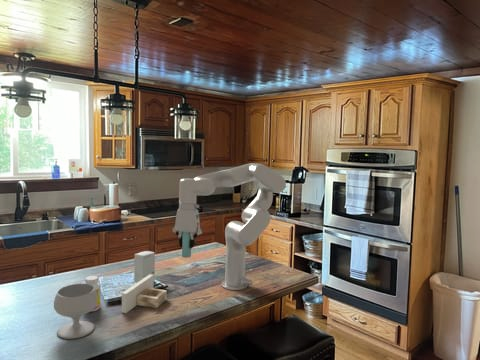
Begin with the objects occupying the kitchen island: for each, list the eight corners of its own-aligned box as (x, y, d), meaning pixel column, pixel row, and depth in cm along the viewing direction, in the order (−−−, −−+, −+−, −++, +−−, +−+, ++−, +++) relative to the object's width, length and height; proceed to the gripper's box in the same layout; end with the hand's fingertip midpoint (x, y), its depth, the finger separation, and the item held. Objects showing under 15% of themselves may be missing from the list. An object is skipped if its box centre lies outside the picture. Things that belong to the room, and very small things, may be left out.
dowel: (192, 255, 159) (193, 229, 157) (188, 258, 155) (189, 231, 154) (184, 254, 160) (184, 228, 158) (180, 257, 156) (181, 230, 154)
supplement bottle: (79, 312, 139) (79, 280, 137) (85, 304, 145) (85, 274, 144) (97, 312, 139) (97, 281, 138) (102, 305, 146) (102, 274, 144)
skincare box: (142, 287, 165) (143, 256, 164) (133, 284, 168) (133, 253, 167) (155, 281, 173) (155, 251, 171) (146, 278, 176) (146, 249, 174)
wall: (153, 291, 161) (153, 274, 160) (126, 313, 139) (126, 293, 139) (149, 291, 161) (149, 274, 160) (121, 312, 140) (121, 293, 139)
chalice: (104, 322, 132) (104, 283, 130) (85, 342, 118) (85, 299, 116) (68, 319, 133) (67, 281, 131) (45, 339, 119) (44, 297, 117)
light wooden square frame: (166, 299, 153) (166, 290, 153) (156, 308, 144) (156, 298, 144) (147, 296, 155) (148, 287, 155) (137, 304, 146) (137, 295, 146)
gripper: (208, 206, 157) (207, 246, 158) (173, 203, 161) (173, 243, 162) (202, 209, 149) (201, 251, 151) (166, 206, 153) (165, 247, 155)
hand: (186, 246), depth 157 cm, fingers closed on dowel, 4 cm apart
